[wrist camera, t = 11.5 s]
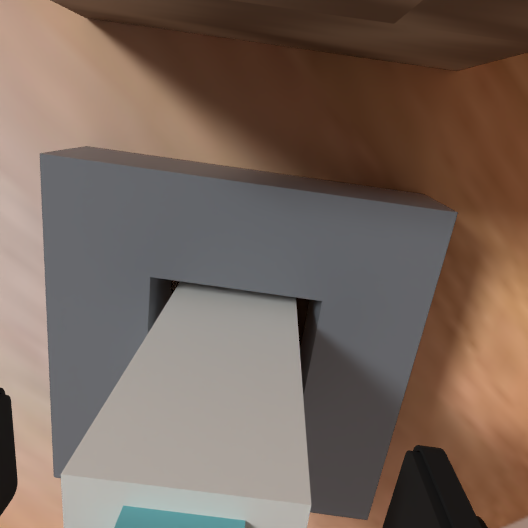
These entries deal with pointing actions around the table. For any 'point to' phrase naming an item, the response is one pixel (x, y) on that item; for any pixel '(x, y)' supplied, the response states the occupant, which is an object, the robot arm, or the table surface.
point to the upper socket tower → (342, 25)
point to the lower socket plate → (243, 278)
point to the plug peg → (200, 422)
